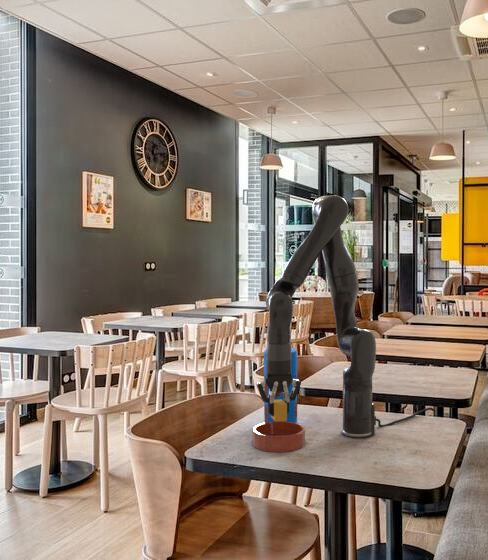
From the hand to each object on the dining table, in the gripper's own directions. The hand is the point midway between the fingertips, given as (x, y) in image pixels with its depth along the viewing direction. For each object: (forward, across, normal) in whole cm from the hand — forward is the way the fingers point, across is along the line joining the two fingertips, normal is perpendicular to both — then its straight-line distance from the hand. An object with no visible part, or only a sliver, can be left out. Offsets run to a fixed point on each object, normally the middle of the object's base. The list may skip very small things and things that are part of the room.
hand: (278, 414), depth 180 cm
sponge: (+1, 0, 0) cm, 1 cm away
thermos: (+9, +5, +17) cm, 20 cm away
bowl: (+9, 0, 0) cm, 9 cm away
